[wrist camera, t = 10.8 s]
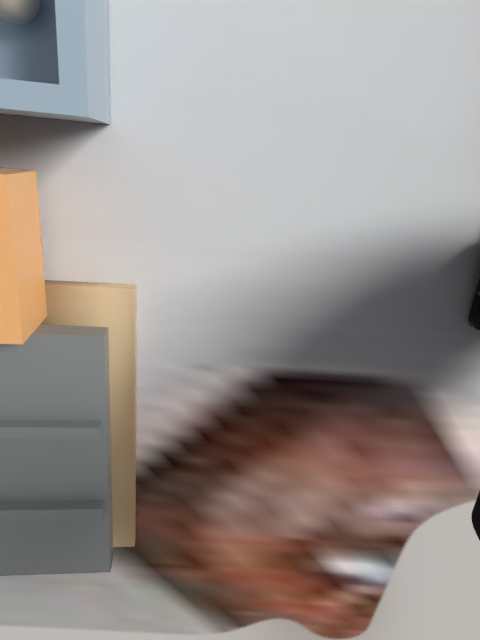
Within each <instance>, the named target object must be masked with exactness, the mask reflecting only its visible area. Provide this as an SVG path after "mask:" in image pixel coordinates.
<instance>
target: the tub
mask: <svg viewBox="0 0 480 640" xmlns="http://www.w3.org/2000/svg"><path fill="white" fill-rule="evenodd" d="M0 113H2V114H12V115H22V116H32V117H42V118H52V119H63V120H73V121H83V122H93V123H103V124H110V76H109V20H108V0H0Z"/></svg>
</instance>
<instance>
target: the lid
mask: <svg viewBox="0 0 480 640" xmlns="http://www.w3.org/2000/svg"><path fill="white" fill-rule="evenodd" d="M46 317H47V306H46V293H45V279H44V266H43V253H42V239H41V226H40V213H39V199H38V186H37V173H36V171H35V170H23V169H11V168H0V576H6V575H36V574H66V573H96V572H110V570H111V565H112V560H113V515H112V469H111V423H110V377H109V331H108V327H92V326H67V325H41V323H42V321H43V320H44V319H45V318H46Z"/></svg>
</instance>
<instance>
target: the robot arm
mask: <svg viewBox="0 0 480 640" xmlns="http://www.w3.org/2000/svg"><path fill="white" fill-rule="evenodd" d="M479 318H480V280H479V283H478V286H477V291H476V295H475V298H474V301H473V305H472V308H471V312H470V315H469V320H468V321H469V324H470V325H471V326H472V327H474V328H475V329H477V330H480V322H478V320H479ZM472 523H473V527H474V529H475V531H476V534H477V536H478V538H479V540H480V491H479V494H478V497H477V500H476V503H475V505H474V508H473V511H472Z"/></svg>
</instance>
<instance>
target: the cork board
mask: <svg viewBox="0 0 480 640" xmlns="http://www.w3.org/2000/svg"><path fill="white" fill-rule="evenodd" d="M45 293H46V306H47V317H46V318H45V319H44V320H43V321H42V323H41V325H67V326H92V327H108V331H109V377H110V423H111V469H112V515H113V547H135V539H136V285H127V284H107V283H88V282H68V281H49V280H45Z"/></svg>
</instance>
